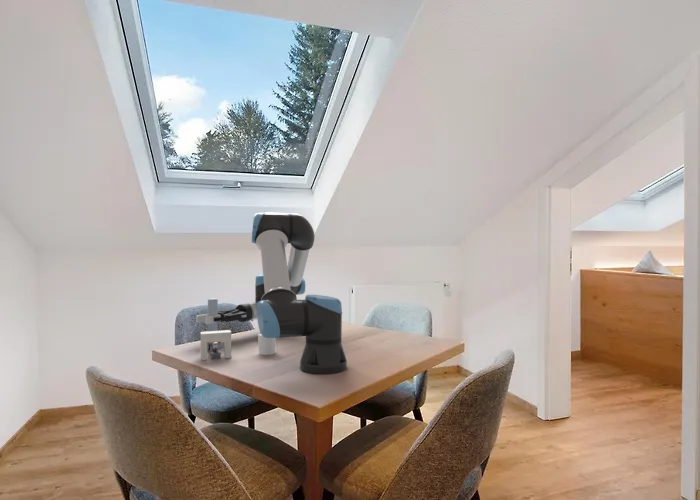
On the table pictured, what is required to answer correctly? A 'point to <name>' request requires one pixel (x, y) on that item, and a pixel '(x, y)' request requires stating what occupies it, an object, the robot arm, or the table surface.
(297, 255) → the robot arm
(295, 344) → the table surface
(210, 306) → the carriage
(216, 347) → the plunger
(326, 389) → the table surface
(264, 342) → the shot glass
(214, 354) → the rail
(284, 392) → the table surface
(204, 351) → the arch
